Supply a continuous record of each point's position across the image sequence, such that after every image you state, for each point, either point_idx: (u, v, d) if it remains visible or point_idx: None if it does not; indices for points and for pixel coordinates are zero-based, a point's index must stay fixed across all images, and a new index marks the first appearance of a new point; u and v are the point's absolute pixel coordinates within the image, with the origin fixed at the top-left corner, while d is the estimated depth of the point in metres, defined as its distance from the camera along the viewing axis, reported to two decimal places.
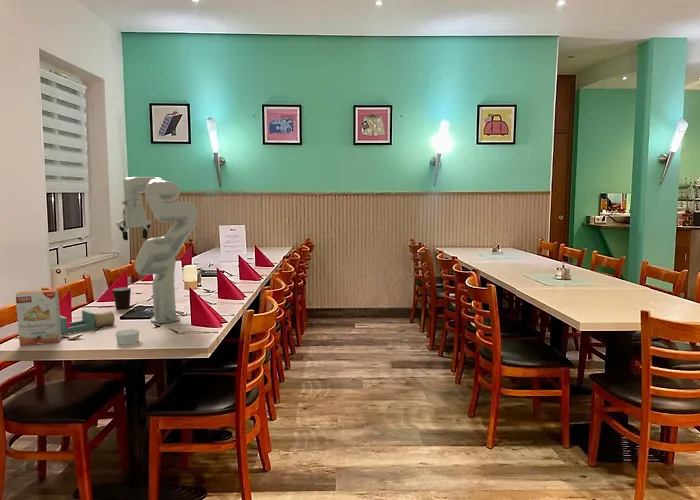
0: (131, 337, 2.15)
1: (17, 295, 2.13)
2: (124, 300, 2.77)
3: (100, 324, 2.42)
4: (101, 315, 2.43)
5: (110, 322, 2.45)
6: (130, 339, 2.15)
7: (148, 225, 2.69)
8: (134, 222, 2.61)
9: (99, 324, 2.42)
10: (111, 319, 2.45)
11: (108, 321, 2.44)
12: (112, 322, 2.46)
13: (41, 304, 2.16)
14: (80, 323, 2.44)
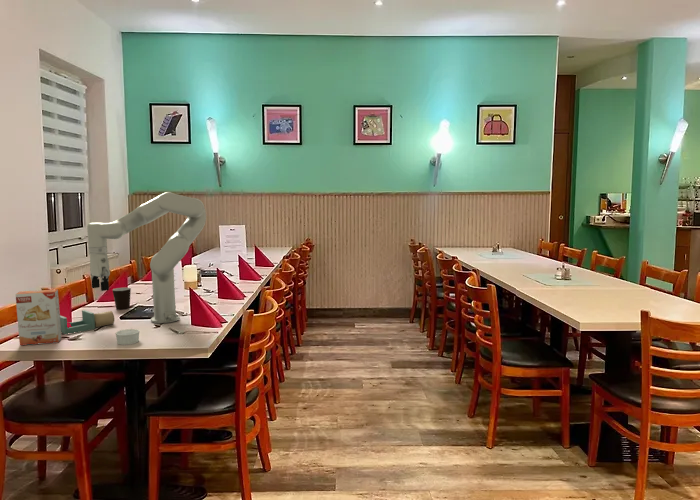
0: (131, 337, 2.15)
1: (17, 295, 2.13)
2: (124, 300, 2.77)
3: (100, 324, 2.42)
4: (101, 315, 2.43)
5: (110, 322, 2.45)
6: (130, 339, 2.15)
7: None
8: None
9: (99, 324, 2.42)
10: (111, 318, 2.45)
11: (108, 321, 2.44)
12: (112, 322, 2.46)
13: (41, 304, 2.16)
14: (80, 323, 2.44)
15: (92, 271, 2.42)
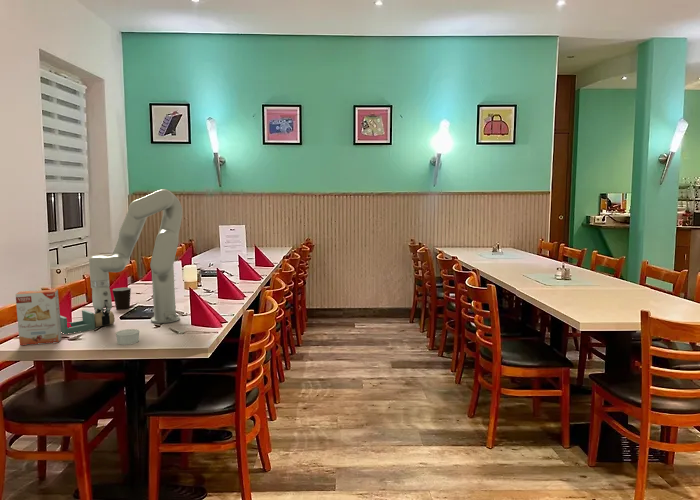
0: (131, 337, 2.15)
1: (17, 295, 2.13)
2: (124, 300, 2.77)
3: (100, 324, 2.42)
4: (101, 315, 2.43)
5: (110, 322, 2.45)
6: (130, 339, 2.15)
7: None
8: None
9: (99, 324, 2.42)
10: (111, 318, 2.45)
11: None
12: (112, 322, 2.46)
13: (41, 304, 2.16)
14: (80, 323, 2.44)
15: (94, 304, 2.44)
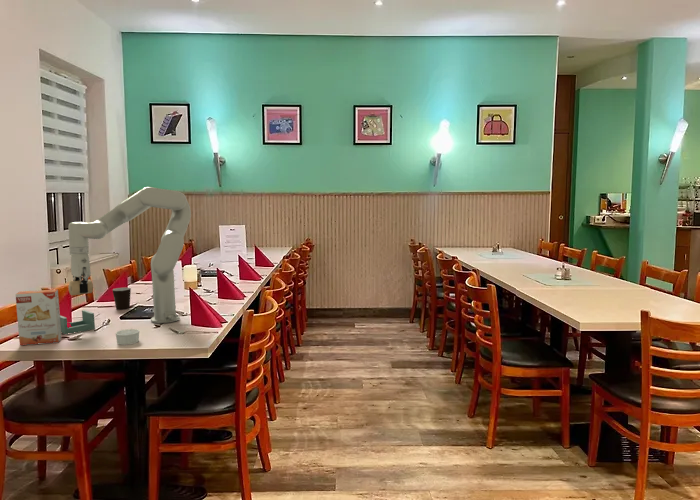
0: (131, 337, 2.15)
1: (17, 295, 2.13)
2: (124, 300, 2.77)
3: (78, 292, 2.36)
4: (79, 283, 2.36)
5: (88, 290, 2.39)
6: (130, 339, 2.15)
7: None
8: None
9: (77, 292, 2.35)
10: (89, 287, 2.39)
11: None
12: (90, 291, 2.40)
13: (41, 304, 2.16)
14: (80, 323, 2.44)
15: (73, 271, 2.38)
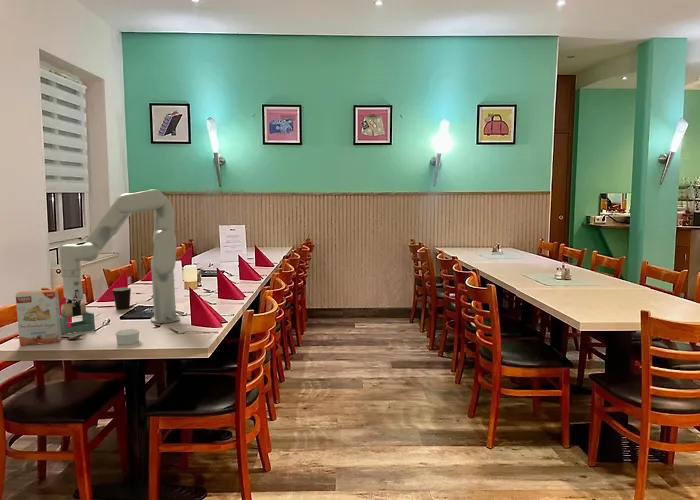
0: (131, 337, 2.15)
1: (17, 295, 2.13)
2: (124, 300, 2.77)
3: (70, 314, 2.35)
4: (72, 305, 2.35)
5: (81, 313, 2.38)
6: (130, 339, 2.15)
7: None
8: None
9: (69, 314, 2.34)
10: (82, 309, 2.38)
11: None
12: (83, 313, 2.39)
13: (41, 304, 2.16)
14: (80, 323, 2.44)
15: (65, 294, 2.37)
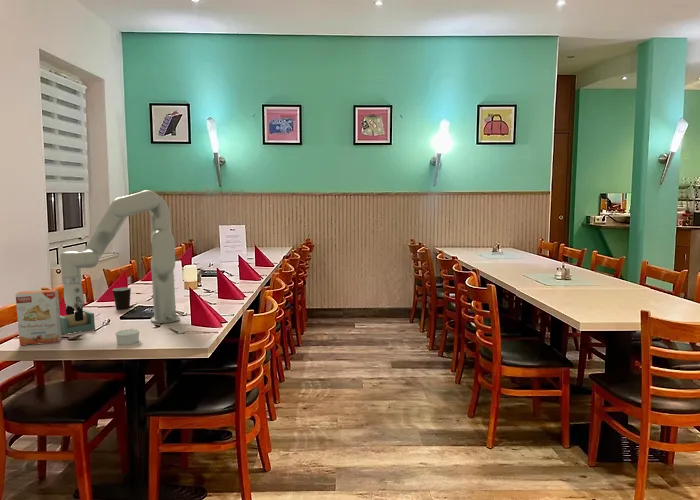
0: (131, 337, 2.15)
1: (17, 295, 2.13)
2: (124, 300, 2.77)
3: (72, 326, 2.35)
4: (73, 316, 2.36)
5: (83, 324, 2.38)
6: (130, 339, 2.15)
7: None
8: None
9: (71, 326, 2.35)
10: (84, 320, 2.38)
11: (81, 323, 2.37)
12: None
13: (41, 304, 2.16)
14: None
15: (66, 301, 2.37)
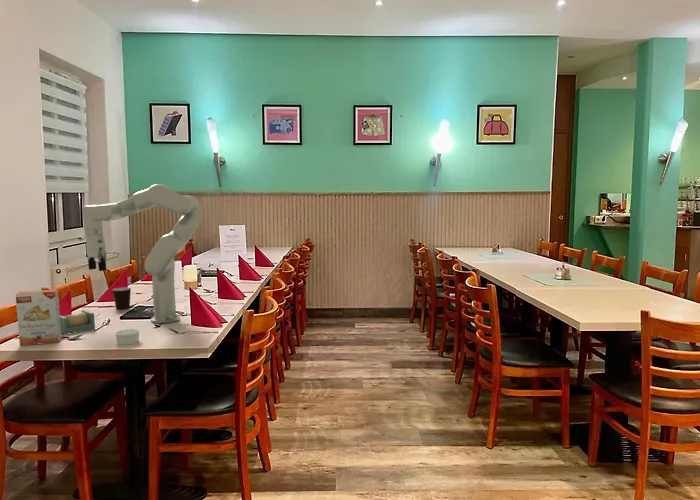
0: (131, 337, 2.15)
1: (17, 295, 2.13)
2: (124, 300, 2.77)
3: (72, 326, 2.35)
4: (73, 317, 2.36)
5: (83, 324, 2.38)
6: (130, 339, 2.15)
7: None
8: None
9: (71, 326, 2.35)
10: (84, 321, 2.38)
11: (81, 323, 2.37)
12: None
13: (41, 304, 2.16)
14: None
15: (89, 253, 2.49)
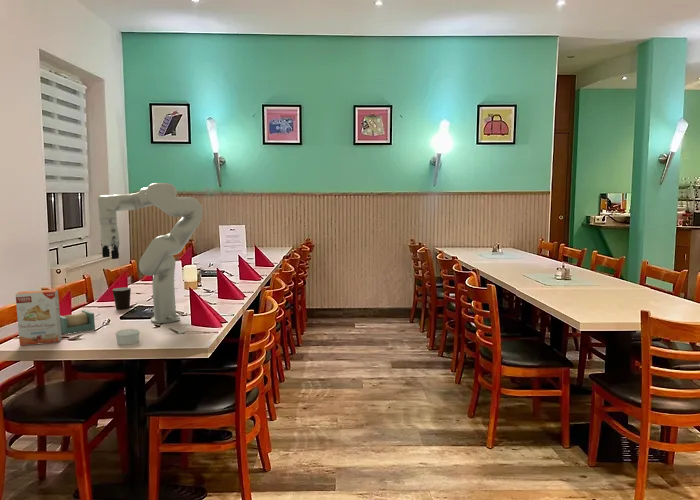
0: (131, 337, 2.15)
1: (17, 295, 2.13)
2: (124, 300, 2.77)
3: (72, 326, 2.35)
4: (73, 316, 2.36)
5: (83, 324, 2.38)
6: (130, 339, 2.15)
7: None
8: None
9: (71, 326, 2.35)
10: (84, 320, 2.38)
11: (81, 323, 2.37)
12: None
13: (41, 304, 2.16)
14: None
15: (103, 241, 2.58)
